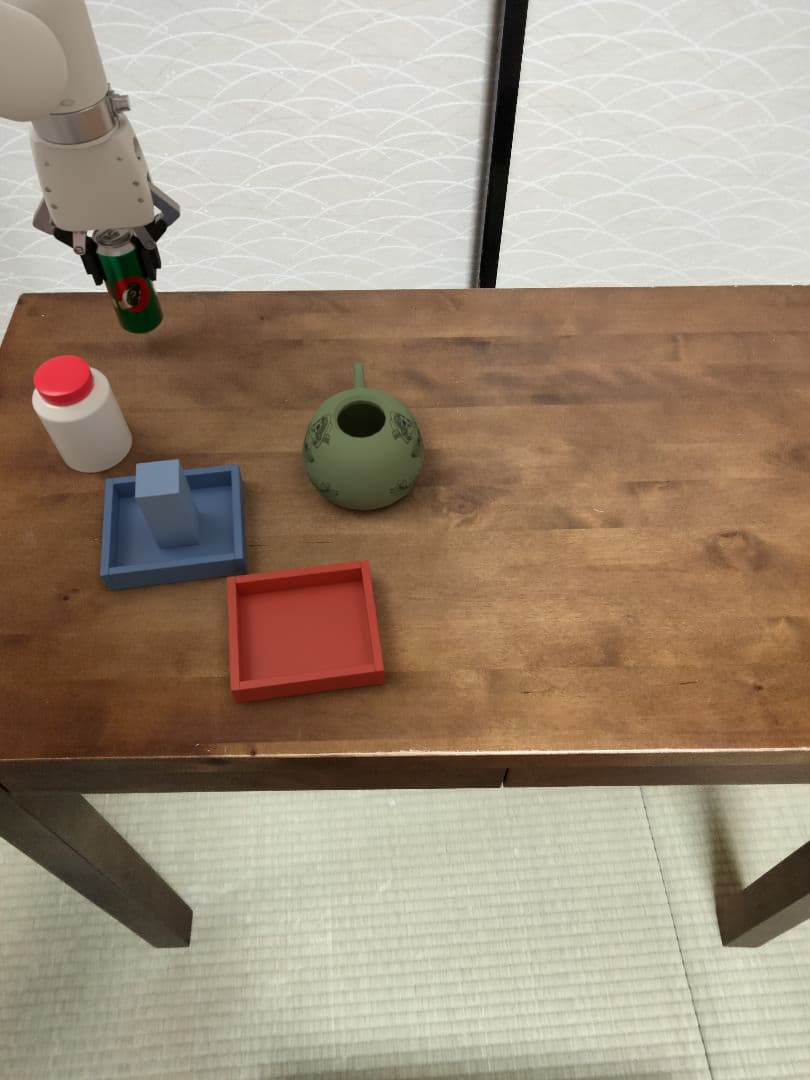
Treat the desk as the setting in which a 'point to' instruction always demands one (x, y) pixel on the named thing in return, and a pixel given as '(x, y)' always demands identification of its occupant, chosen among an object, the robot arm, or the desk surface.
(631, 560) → the desk surface
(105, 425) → the pill bottle
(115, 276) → the soda can
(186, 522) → the blue block
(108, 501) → the blue tray
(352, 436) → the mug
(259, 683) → the red tray
